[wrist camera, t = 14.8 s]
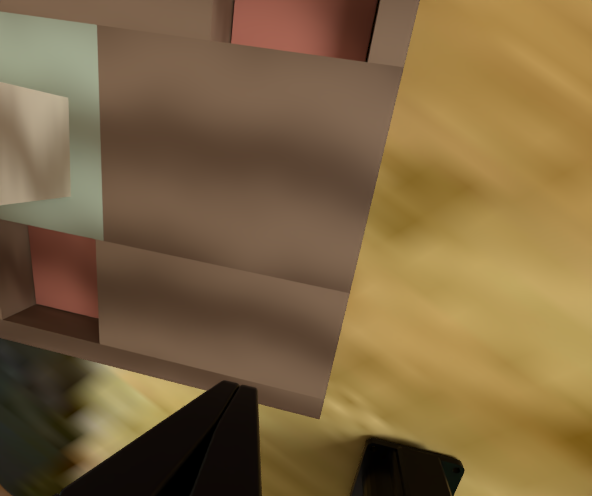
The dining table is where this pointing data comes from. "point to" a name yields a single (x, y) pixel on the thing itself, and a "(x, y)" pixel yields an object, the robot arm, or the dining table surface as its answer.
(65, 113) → the block
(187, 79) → the board
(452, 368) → the dining table surface
